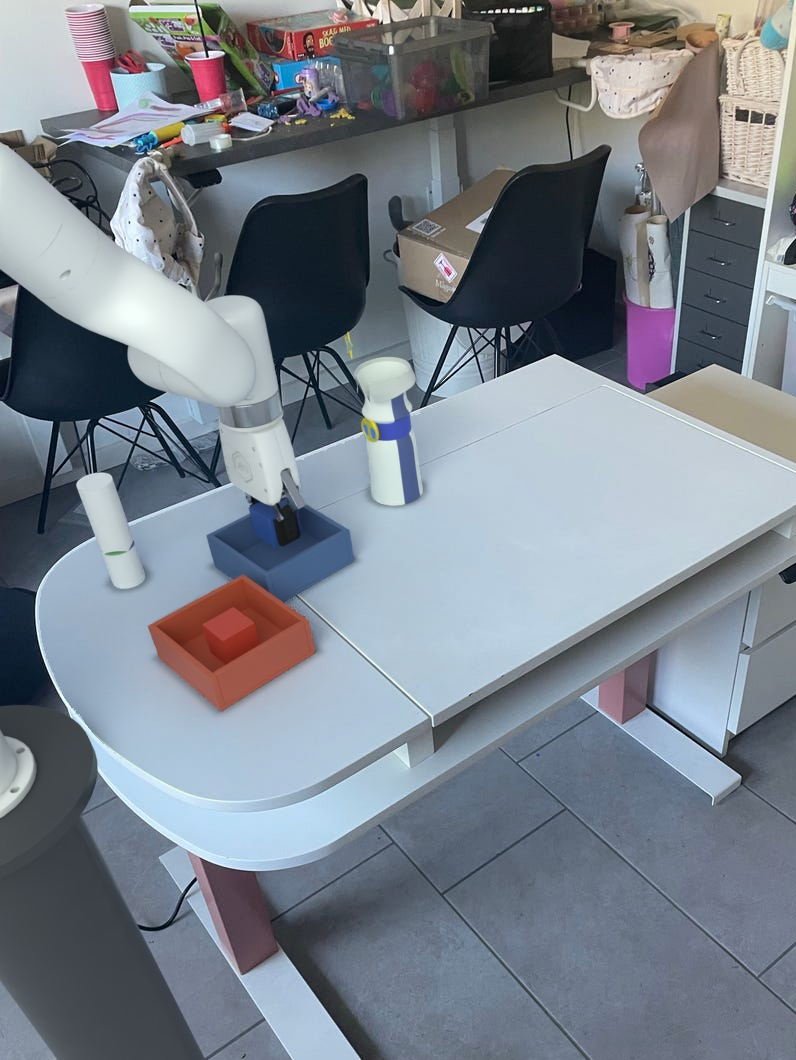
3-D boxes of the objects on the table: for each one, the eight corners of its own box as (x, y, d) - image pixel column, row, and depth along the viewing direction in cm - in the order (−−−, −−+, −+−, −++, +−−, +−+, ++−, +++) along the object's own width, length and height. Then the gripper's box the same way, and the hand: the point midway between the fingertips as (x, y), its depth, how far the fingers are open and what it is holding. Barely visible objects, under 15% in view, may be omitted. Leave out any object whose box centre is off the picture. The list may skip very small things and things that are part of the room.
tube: (106, 581, 125) (69, 484, 115) (132, 565, 127) (98, 469, 118) (126, 592, 123) (90, 494, 113) (152, 576, 125) (119, 478, 116)
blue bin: (273, 608, 119) (265, 575, 116) (214, 566, 126) (205, 535, 123) (354, 561, 126) (349, 529, 123) (294, 524, 133) (288, 493, 130)
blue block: (274, 548, 121) (268, 519, 118) (255, 535, 123) (248, 507, 120) (302, 533, 123) (296, 505, 120) (282, 521, 126) (276, 493, 123)
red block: (231, 669, 110) (222, 640, 107) (210, 652, 112) (201, 624, 109) (262, 650, 112) (254, 622, 109) (241, 634, 114) (233, 606, 111)
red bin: (221, 711, 105) (210, 678, 102) (159, 658, 113) (147, 625, 109) (316, 652, 112) (309, 619, 109) (251, 606, 119) (243, 573, 116)
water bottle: (394, 514, 134) (373, 346, 118) (357, 493, 139) (332, 329, 123) (437, 491, 138) (422, 326, 122) (400, 471, 143) (381, 310, 127)
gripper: (184, 396, 114) (218, 522, 126) (264, 440, 105) (293, 572, 116) (235, 375, 118) (264, 499, 130) (318, 416, 108) (340, 546, 120)
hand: (277, 532), depth 123 cm, fingers closed on blue block, 4 cm apart
